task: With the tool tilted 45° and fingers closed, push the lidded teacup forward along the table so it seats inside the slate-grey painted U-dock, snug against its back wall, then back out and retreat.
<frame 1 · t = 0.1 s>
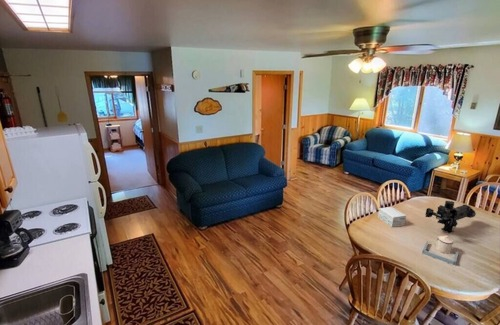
hand: (431, 219, 204), 17 cm above the table, tool horizontal, fingers open, 9 cm apart
teacup with lid: (441, 248, 196), on the table
dock: (440, 251, 193), on the table
supplement box: (390, 221, 233), on the table
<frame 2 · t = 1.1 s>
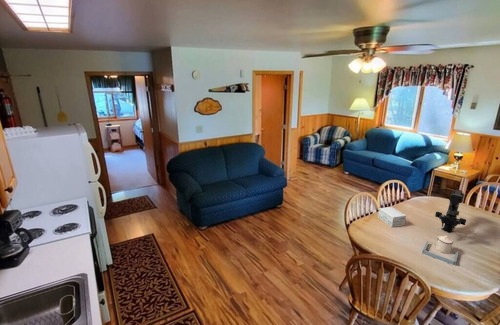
hand: (447, 228, 201), 12 cm above the table, tool tilted 45°, fingers open, 6 cm apart
nothing on the table moved.
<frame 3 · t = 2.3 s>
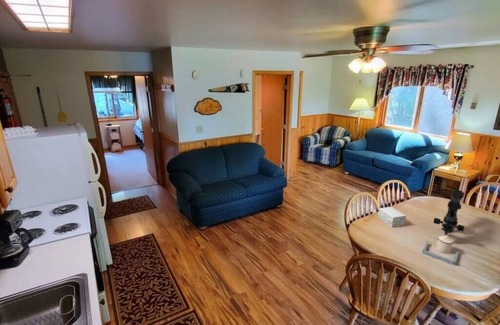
hand: (445, 234, 200), 7 cm above the table, tool tilted 45°, fingers closed
nothing on the table moved.
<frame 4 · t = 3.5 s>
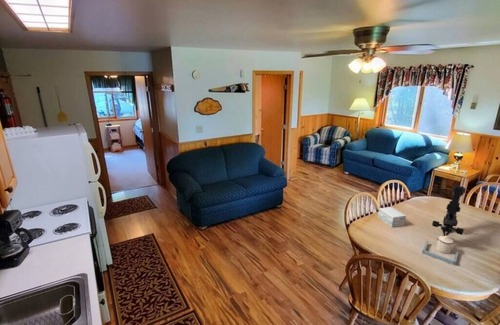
hand: (444, 238, 196), 7 cm above the table, tool tilted 45°, fingers closed
teacup with lid: (441, 249, 196), on the table, touching gripper
everything else where it was.
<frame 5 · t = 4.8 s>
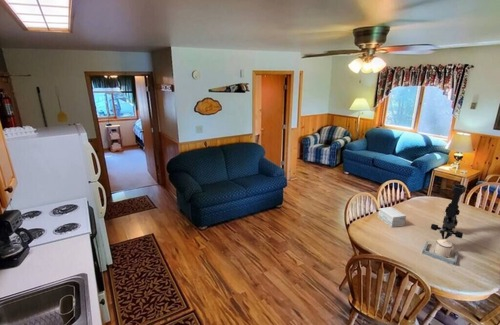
hand: (443, 241, 192), 7 cm above the table, tool tilted 45°, fingers closed
teacup with lid: (440, 252, 192), on the table, touching gripper
everything else where it was.
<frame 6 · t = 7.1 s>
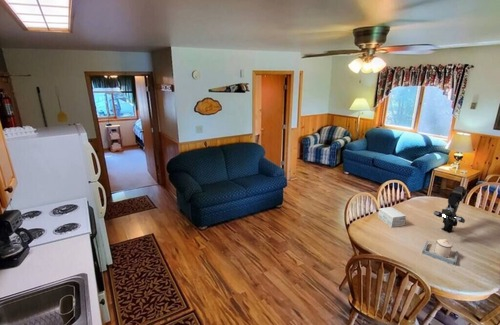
hand: (445, 227, 201), 12 cm above the table, tool tilted 35°, fingers closed
teacup with lid: (440, 252, 192), on the table
everything else where it was.
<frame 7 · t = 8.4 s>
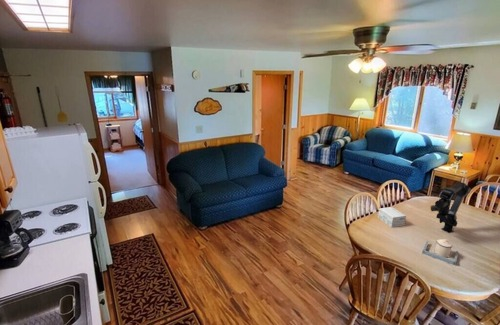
hand: (440, 222, 207), 12 cm above the table, tool pointing down, fingers closed
nothing on the table moved.
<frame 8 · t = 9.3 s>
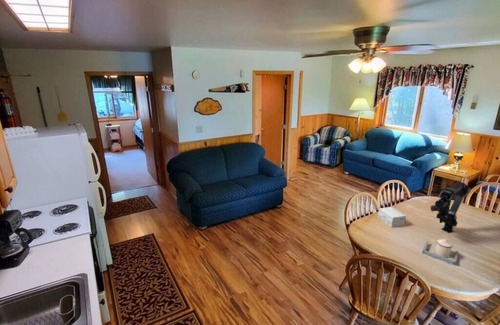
hand: (440, 222, 207), 12 cm above the table, tool pointing down, fingers closed
nothing on the table moved.
at the end: teacup with lid 0.6 cm from the dock (horizontally); teacup with lid tilted 0°; teacup with lid moved 5.6 cm from its start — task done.
